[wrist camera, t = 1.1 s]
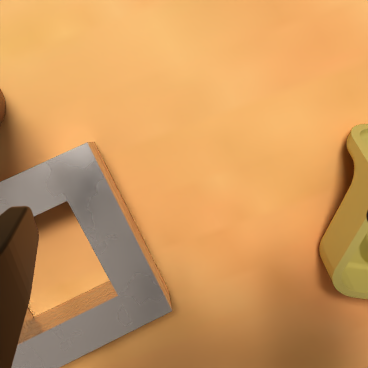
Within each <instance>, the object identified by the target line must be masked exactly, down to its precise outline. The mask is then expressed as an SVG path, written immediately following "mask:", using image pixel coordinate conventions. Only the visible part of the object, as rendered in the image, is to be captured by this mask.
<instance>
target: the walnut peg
mask: <svg viewBox="0 0 368 368" xmlns="http://www.w3.org/2000/svg"><path fill="white" fill-rule="evenodd" d="M4 116H5V100H4V96H3V94H2V91H1V90H0V125H1V124H2V122H3V119H4Z"/></svg>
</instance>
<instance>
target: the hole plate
mask: <svg viewBox="0 0 368 368" xmlns="http://www.w3.org/2000/svg"><path fill="white" fill-rule="evenodd" d="M66 201H68V203H69V205H70V207H71V209H72V211H73V213H74V215H75V216H76V218H77V220H78V222H79V224H80V226H81V228H82V229H83V231H84V233H85V235H86V237H87V239H88V241H89V242H90V244H91V246H92V248H93V250H94V252H95V254H96V256H97V257H98V259H99V261H100V263H101V265H102V267H103V269H104V270H105V272H106V274H107V276H108V278H109V280H110V281H108V282H106V283H104V284H102V285H100V286H98V287H96V288H94V289H92V290H89V291H87V292H85V293H83V294H81V295H79V296H77V297H75V298H73V299H71V300H69V301H67V302H65V303H63V304H61V305H59V306H57V307H55V308H52V309H50V310H48V311H46V312H44V313H42V314H40V315H38V316H36V317H33V315H32V314H31V312H30V310H29V309H28V308H27V312H26V316H25V319H24V323H23V327H22V330H21V334H20V338H19V341H18V345H17V349H16V353H15V356H14V360H13V364H12V367H11V368H59V367H61V366H63V365H65V364H67V363H69V362H71V361H73V360H75V359H77V358H79V357H81V356H83V355H85V354H87V353H89V352H91V351H93V350H95V349H97V348H99V347H101V346H103V345H105V344H107V343H109V342H111V341H113V340H115V339H117V338H119V337H121V336H123V335H125V334H127V333H129V332H131V331H133V330H135V329H137V328H139V327H141V326H143V325H145V324H147V323H149V322H151V321H153V320H155V319H157V318H159V317H161V316H163V315H165V314H167V313H169V312H171V311H172V306H171V301H170V296H169V291H168V288H167V286H166V284H165V282H164V280H163V278H162V276H161V274H160V272H159V270H158V268H157V266H156V264H155V262H154V260H153V258H152V256H151V254H150V252H149V250H148V248H147V246H146V244H145V242H144V240H143V238H142V236H141V234H140V232H139V230H138V228H137V226H136V224H135V222H134V220H133V218H132V216H131V214H130V212H129V210H128V208H127V206H126V204H125V202H124V200H123V198H122V196H121V194H120V192H119V190H118V188H117V186H116V184H115V182H114V180H113V178H112V176H111V174H110V172H109V170H108V168H107V166H106V164H105V162H104V160H103V158H102V156H101V154H100V152H99V150H98V148H97V146H96V144H95V142H87V143H85V144H83V145H81V146H78V147H76V148H74V149H72V150H70V151H67V152H65V153H63V154H61V155H59V156H56V157H54V158H52V159H50V160H48V161H45V162H43V163H41V164H39V165H37V166H34V167H32V168H30V169H28V170H26V171H23V172H21V173H19V174H17V175H15V176H12V177H10V178H8V179H6V180H4V181H1V182H0V215H1V214H2V213H3V212H5V211H6V210H7V209H8V208H10V207H14V206H28V207H30V208H31V210H32V213H33V216H36V215H38V214H40V213H42V212H44V211H47V210H49V209H51V208H53V207H55V206H57V205H60V204H62V203H64V202H66Z"/></svg>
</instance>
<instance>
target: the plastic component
mask: <svg viewBox="0 0 368 368" xmlns="http://www.w3.org/2000/svg"><path fill="white" fill-rule="evenodd" d="M347 149H348V151H349V153H350V155H351V157H352V159H353V161H354V176H353V180H352V183H351V186H350V187H349V189H348V191H347V193H346V195H345V197H344V199H343V200H342V202H341V204H340V206H339V208H338V210H337V212H336V213H335V215H334V217H333V219H332V221H331V223H330V225H329V226H328V228H327V230H326V232H325V234H324V236H323V238H322V239H321V242H320V246H319V253H320V257H321V259H322V261H323V263H324V265H325V267H326V270H327V272H328V274H329V276H330V278H331V280H332V282H333V284H334V286H335V288H336V289H337V290H338V291H339V292H340V293H342V294H344V295H346V296H349V297H354V298H362V299H368V222H367V218H366V213H367V210H368V124H360V125H356V126H355V127H353V128H352V130H351V132H350V134H349V136H348V138H347Z"/></svg>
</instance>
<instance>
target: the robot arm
mask: <svg viewBox="0 0 368 368" xmlns="http://www.w3.org/2000/svg"><path fill="white" fill-rule="evenodd" d="M366 218H367V222H368V210H367V213H366ZM38 240H39V234H38V229H37V226H36V222H35V219H34V216H33V213H32V210H31V208H30V207H28V206H14V207H10V208H8V209H7V210H6V211H5V212H3V213H2V214H1V215H0V368H11V367H12V364H13V360H14V356H15V353H16V349H17V345H18V341H19V338H20V334H21V330H22V327H23V323H24V319H25V316H26V312H27V308H28V304H29V300H30V295H31V289H32V282H33V275H34V268H35V261H36V254H37V247H38Z"/></svg>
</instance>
